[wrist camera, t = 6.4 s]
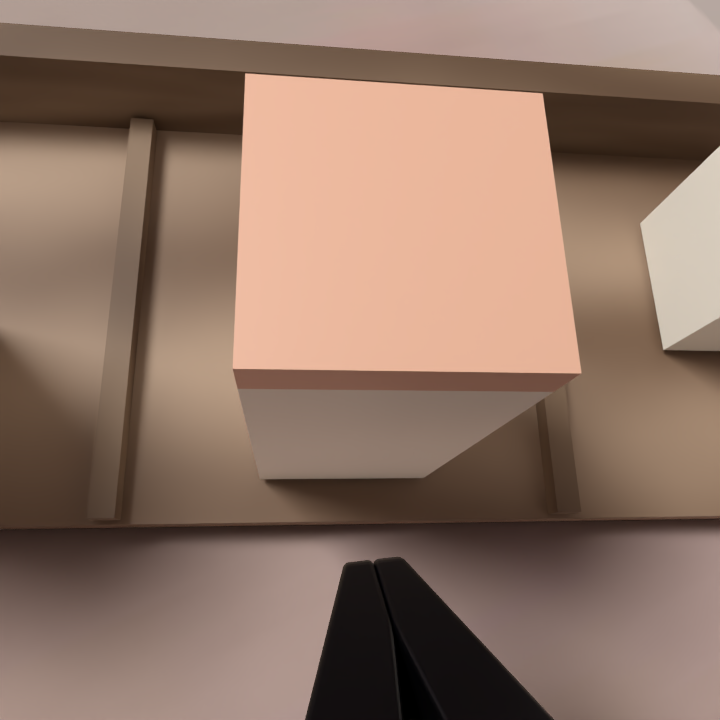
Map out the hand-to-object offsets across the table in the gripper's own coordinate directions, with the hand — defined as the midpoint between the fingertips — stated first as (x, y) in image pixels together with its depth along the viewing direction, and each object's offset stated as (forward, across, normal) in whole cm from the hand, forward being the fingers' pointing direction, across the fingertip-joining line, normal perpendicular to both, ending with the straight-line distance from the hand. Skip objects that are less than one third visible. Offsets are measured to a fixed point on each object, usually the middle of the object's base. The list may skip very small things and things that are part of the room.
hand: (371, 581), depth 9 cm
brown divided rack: (+10, -1, 0) cm, 10 cm away
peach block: (+7, 0, +1) cm, 7 cm away
